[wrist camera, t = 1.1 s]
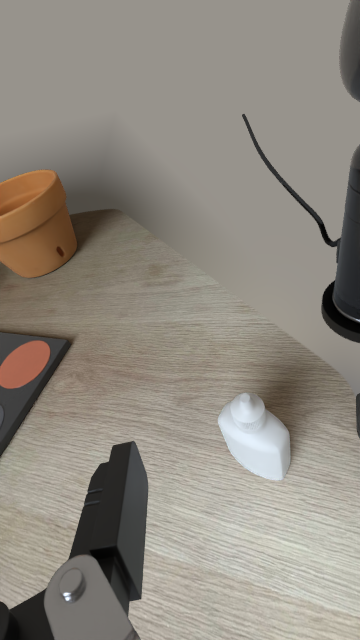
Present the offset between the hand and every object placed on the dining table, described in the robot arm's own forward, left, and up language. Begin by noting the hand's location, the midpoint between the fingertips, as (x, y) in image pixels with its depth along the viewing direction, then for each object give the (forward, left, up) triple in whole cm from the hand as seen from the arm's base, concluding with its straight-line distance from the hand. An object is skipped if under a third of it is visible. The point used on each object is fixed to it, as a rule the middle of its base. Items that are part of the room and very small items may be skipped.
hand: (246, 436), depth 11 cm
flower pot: (-37, -53, -20) cm, 68 cm away
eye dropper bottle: (-5, -2, -20) cm, 21 cm away
